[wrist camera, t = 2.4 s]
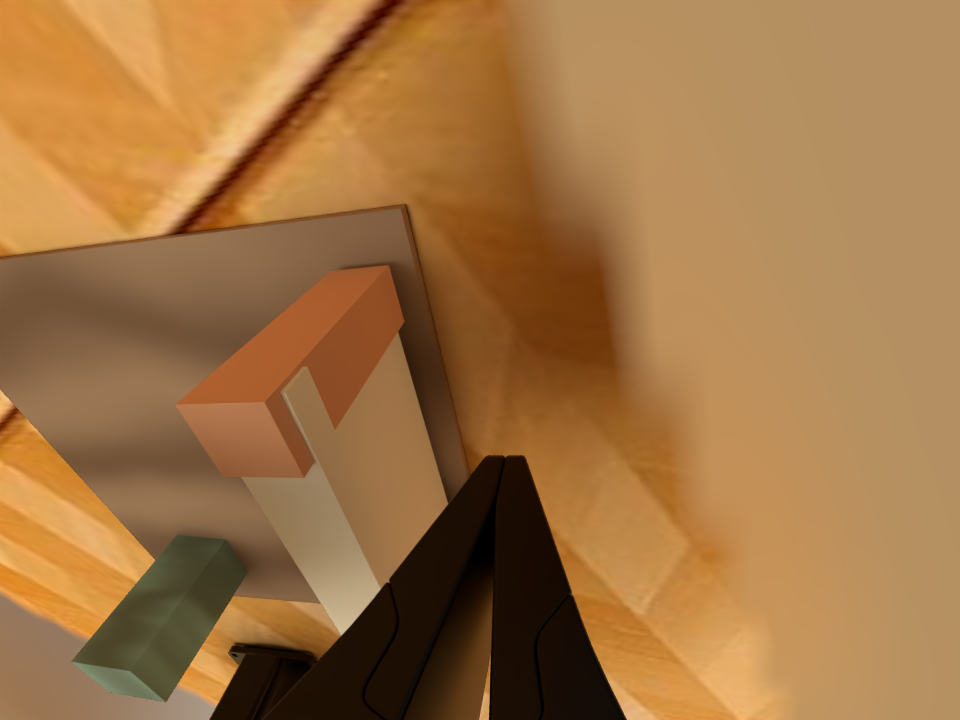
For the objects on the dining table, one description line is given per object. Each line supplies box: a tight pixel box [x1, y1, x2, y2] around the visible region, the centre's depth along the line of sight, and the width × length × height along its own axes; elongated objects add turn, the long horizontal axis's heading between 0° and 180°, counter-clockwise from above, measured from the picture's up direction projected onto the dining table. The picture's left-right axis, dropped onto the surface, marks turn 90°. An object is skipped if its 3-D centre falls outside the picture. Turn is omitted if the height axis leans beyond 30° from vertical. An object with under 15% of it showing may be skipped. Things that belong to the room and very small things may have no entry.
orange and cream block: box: [175, 265, 448, 636], centre depth 14 cm, size 14×2×6 cm, turn 9°
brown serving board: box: [0, 205, 470, 702], centre depth 16 cm, size 21×20×9 cm
